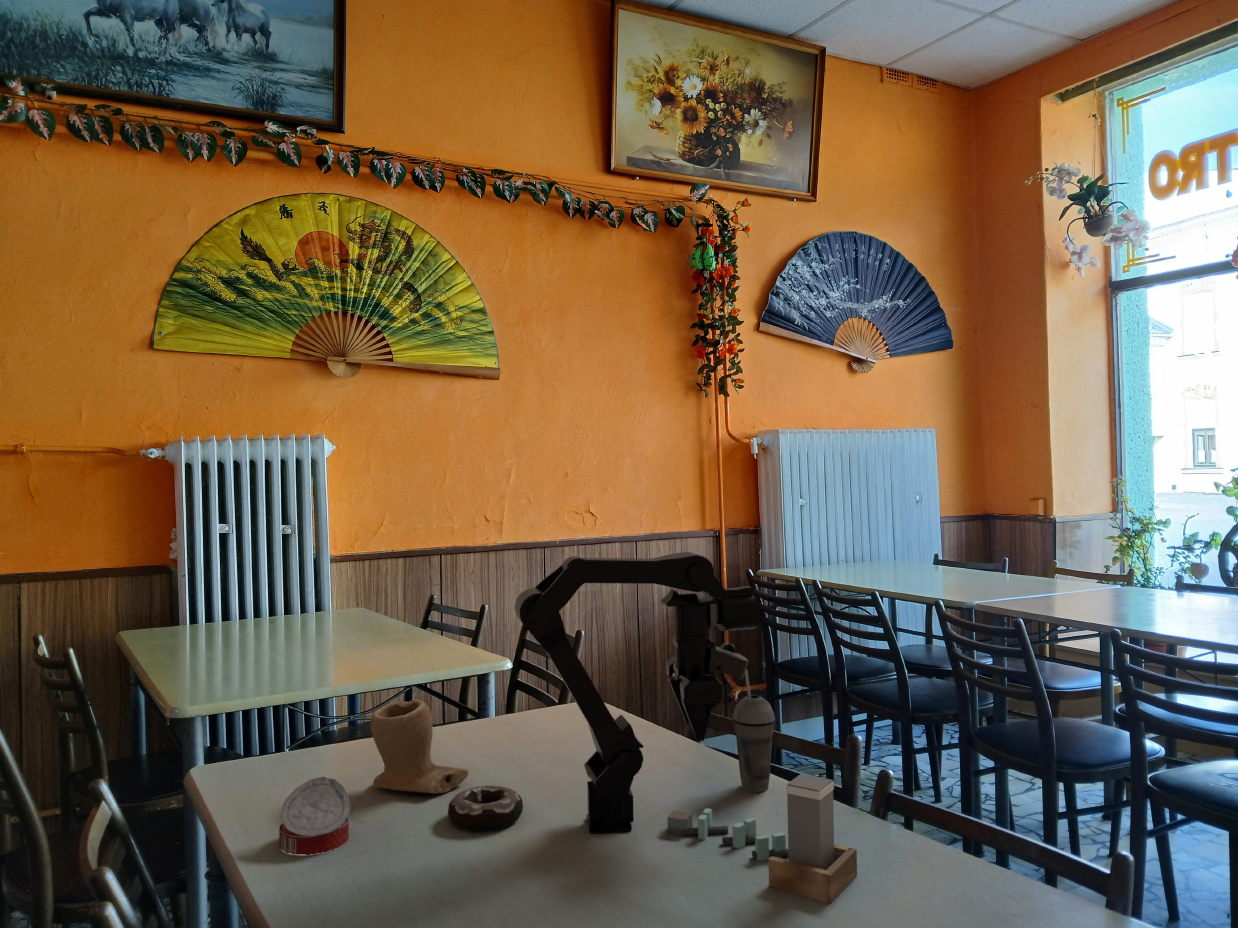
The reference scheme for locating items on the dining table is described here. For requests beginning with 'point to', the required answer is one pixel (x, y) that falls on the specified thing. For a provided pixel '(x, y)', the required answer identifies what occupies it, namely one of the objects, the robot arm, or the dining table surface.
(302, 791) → the canned food
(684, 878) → the dining table surface
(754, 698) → the beverage cup
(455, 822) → the donut
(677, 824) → the brown grey short block
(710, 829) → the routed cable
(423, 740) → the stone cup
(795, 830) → the tall grey box
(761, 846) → the cable clips
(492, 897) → the dining table surface
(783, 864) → the end holder
